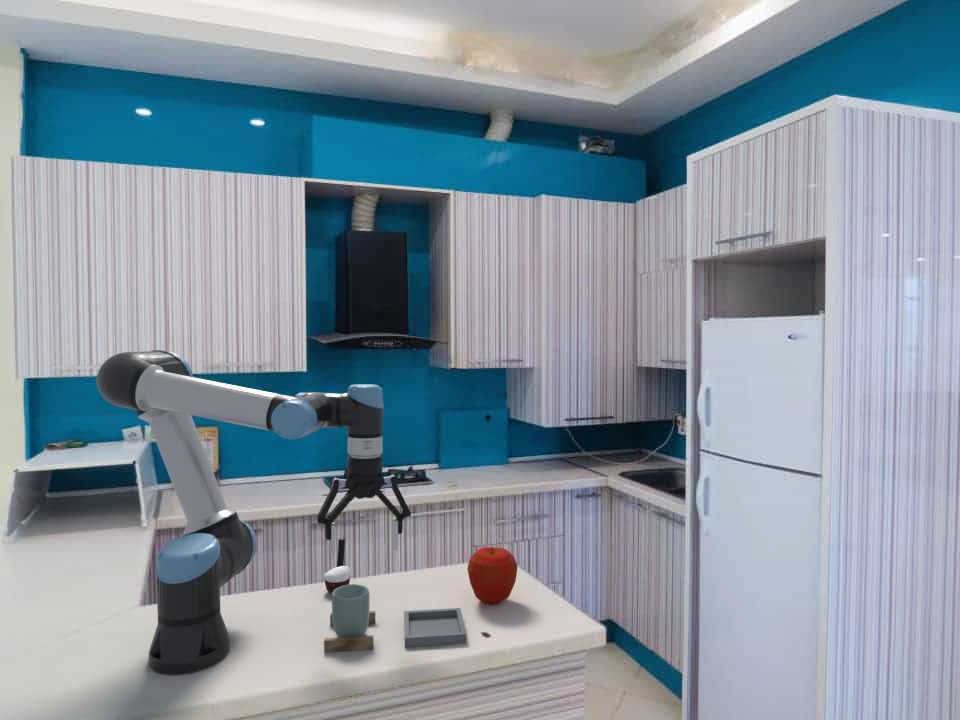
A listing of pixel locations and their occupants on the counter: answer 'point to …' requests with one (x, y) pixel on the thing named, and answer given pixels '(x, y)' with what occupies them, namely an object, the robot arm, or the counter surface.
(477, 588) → the apple
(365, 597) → the cup
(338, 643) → the dock rails
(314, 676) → the counter surface
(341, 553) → the cocoa
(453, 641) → the dock cradle
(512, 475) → the counter surface
